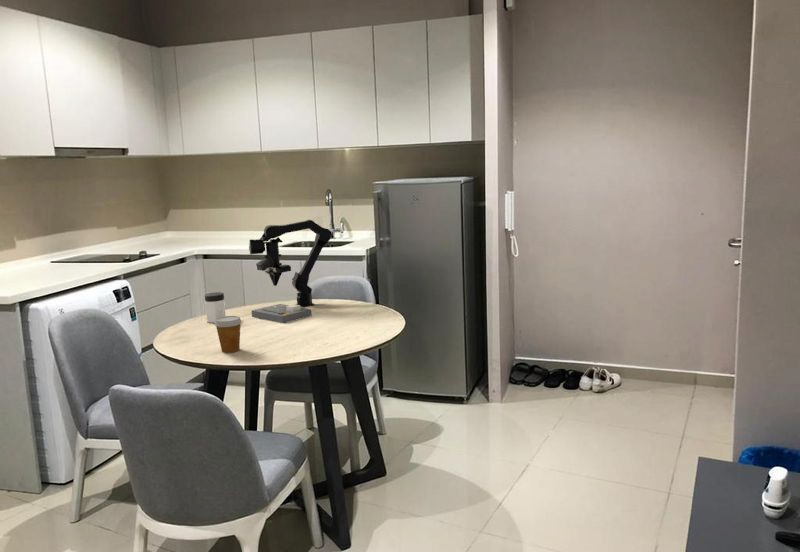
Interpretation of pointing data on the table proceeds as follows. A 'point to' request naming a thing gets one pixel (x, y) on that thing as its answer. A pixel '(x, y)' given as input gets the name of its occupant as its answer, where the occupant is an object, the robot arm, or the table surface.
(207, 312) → the jar
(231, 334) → the disposable coffee cup
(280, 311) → the slider knob
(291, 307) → the offwhite button
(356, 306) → the table surface
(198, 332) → the table surface
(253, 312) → the control panel
